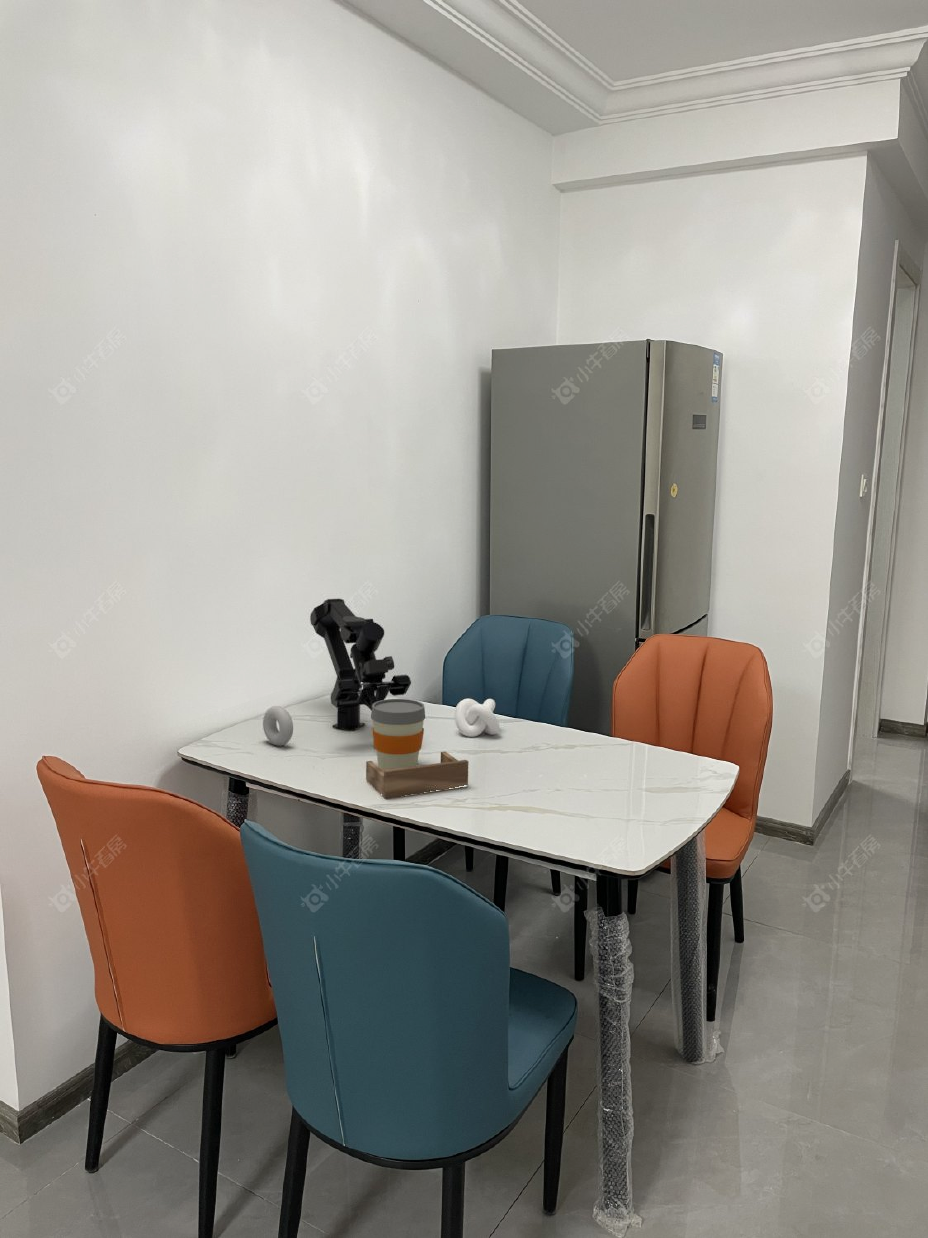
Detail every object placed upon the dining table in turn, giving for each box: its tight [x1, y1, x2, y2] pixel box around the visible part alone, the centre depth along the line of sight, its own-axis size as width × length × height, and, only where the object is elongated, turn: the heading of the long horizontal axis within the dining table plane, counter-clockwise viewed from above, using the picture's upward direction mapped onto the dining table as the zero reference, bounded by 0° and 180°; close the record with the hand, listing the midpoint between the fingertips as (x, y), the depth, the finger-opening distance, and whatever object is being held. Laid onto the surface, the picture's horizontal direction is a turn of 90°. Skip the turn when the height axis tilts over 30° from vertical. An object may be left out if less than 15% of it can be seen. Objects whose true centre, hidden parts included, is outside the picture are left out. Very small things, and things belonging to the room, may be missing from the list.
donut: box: [262, 705, 294, 747], centre depth 233 cm, size 10×4×10 cm, turn 49°
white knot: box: [454, 698, 500, 738], centre depth 247 cm, size 11×12×9 cm
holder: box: [365, 751, 469, 800], centre depth 209 cm, size 12×19×6 cm, turn 115°
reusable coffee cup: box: [370, 698, 426, 771], centre depth 219 cm, size 13×13×15 cm
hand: (380, 717), depth 228 cm, fingers closed
